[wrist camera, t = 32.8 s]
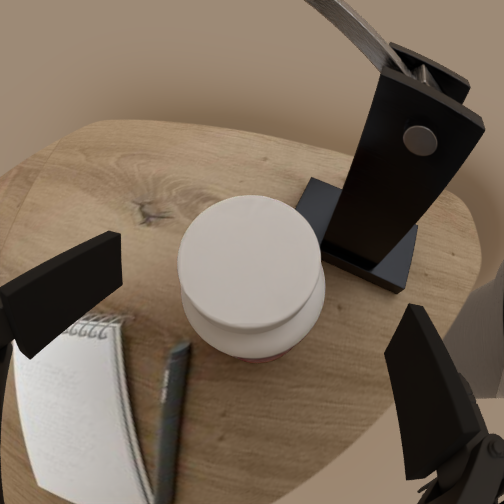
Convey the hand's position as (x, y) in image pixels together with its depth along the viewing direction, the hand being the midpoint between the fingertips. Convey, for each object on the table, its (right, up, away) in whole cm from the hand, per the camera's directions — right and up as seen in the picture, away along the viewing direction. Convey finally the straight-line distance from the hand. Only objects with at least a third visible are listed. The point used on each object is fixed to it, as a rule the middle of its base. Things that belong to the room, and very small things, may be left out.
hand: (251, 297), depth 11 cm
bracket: (+8, +3, +10) cm, 13 cm away
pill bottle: (0, -3, +8) cm, 8 cm away
